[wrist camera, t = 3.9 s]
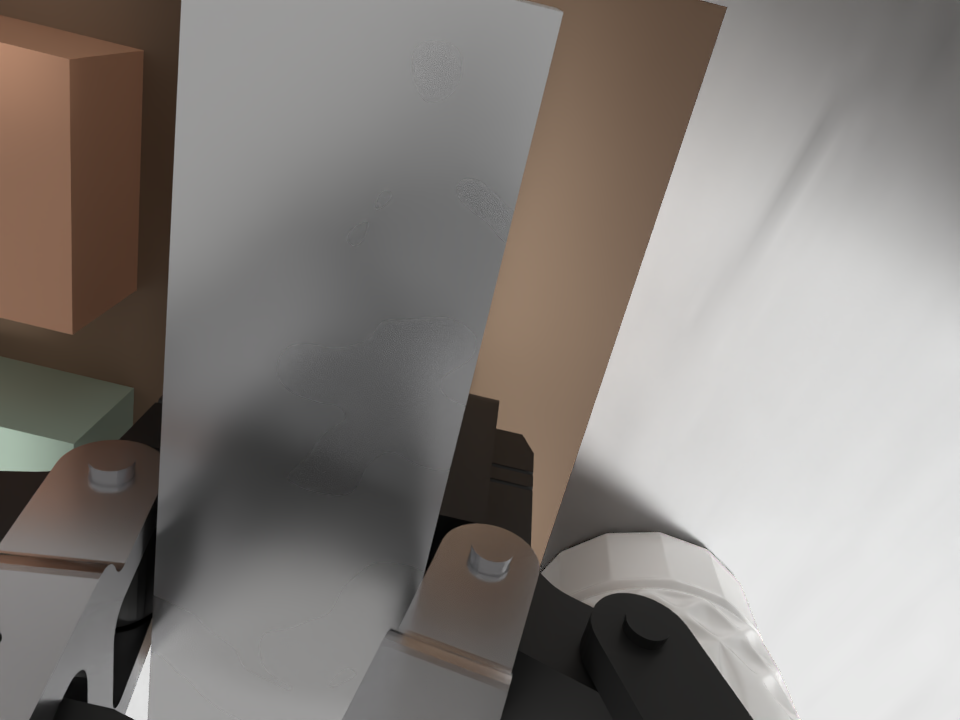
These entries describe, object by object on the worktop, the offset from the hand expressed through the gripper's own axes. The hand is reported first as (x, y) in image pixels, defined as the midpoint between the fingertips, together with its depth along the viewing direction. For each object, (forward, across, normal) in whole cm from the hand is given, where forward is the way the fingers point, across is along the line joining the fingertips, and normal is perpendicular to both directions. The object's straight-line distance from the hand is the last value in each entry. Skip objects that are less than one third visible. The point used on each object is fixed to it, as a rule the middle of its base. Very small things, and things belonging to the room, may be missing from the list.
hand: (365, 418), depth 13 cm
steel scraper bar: (0, 0, 0) cm, 0 cm away
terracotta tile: (+1, +6, -3) cm, 7 cm away
